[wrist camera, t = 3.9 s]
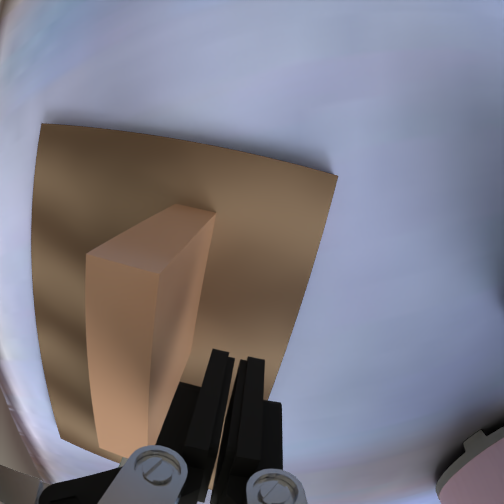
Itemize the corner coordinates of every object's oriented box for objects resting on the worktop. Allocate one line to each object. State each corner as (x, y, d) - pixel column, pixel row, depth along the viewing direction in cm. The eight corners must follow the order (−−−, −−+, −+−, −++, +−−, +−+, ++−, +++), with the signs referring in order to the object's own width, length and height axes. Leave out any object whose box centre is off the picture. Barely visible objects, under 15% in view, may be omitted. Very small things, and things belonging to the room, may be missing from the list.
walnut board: (51, 123, 15) (41, 123, 14) (334, 174, 15) (338, 175, 14) (65, 431, 22) (60, 438, 21) (230, 484, 23) (229, 493, 22)
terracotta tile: (172, 202, 15) (81, 252, 7) (216, 212, 15) (159, 273, 7) (154, 342, 17) (95, 446, 9) (190, 352, 17) (147, 464, 9)
